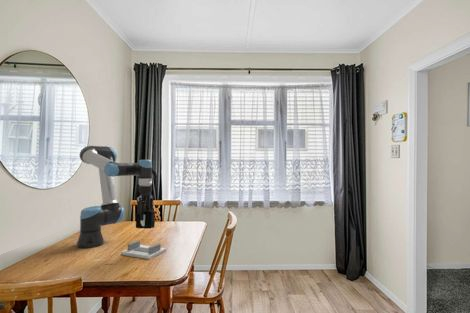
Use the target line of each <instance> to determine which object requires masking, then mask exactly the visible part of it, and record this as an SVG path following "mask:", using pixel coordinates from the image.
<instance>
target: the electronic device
mask: <svg viewBox="0 0 470 313" xmlns="http://www.w3.org/2000/svg"><path fill="white" fill-rule="evenodd" d="M135 215H136V216H135V228H136V229H149V230H150V229H154V228H155V226H156V224H155V222H156V221H155V220H156V211H155V210H153V211H146V209H145V211H144V215H145V226H142V225H141V220H140V215H139V214H137V211H136V212H135Z"/></svg>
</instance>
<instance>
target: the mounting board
mask: <svg viewBox="0 0 470 313" xmlns="http://www.w3.org/2000/svg"><path fill="white" fill-rule="evenodd" d="M165 252H167V247H166V248H164V247H161V243H156V244H153V245H151V246H150V245H145V244H141V240H136V241H132V242H129V243H128V244H127V249H125V250H122V251H121V252H120V255H123V256H128V257H134V258H141V259H147V260H151V259H154V258H155V257H157V256H160V255H161V254H163V253H165Z"/></svg>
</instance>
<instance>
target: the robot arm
mask: <svg viewBox="0 0 470 313" xmlns="http://www.w3.org/2000/svg"><path fill="white" fill-rule="evenodd" d="M79 158H80V160H81V162H82V163H85V164H86V165H92V166H94V167H95V168H97V169H98V175H99V181H100V182H99V183H100V191H101V198H102V199H101V200H102V203H101V204H100V205H95V206H89V207H85V208H83V209H82V210H81V211H80V215H79V220H80V222H79V223H80V224H79V226H80V227H79V228H80V230H79V235H78V238H77V239H78V240H77V242H76V247H77V248H80V249H88V248H89V249H90V248H95V247H99V246H102V245H103V244H104V243H105V241H104V237H103V234H102V227H104V226H108V225H114V224H118V223H121V222H122V220H123V219H124V216H125V208H124V207H123V206H122V205H121V204H120V202H119V201H118V200H117V193H116V187H115V179H114V178H115V177H126V176H129V177H130V176H138V185H139V186H138V192H139V196H138V197H136V198H135V199H136V206H137V207H136V210H137V211H136V212H137V214H139V215H140V220H141V225H142V226H145V215H144V211H145V210H146V211H154V198H155V195H153V194H151V193H152V191H153V187H152V184H153V162H152V160H151V159H140V160H138V163H137V162H128V163H127V162H116V161H117V158H118V156H117V152H116V150H115V148H113V147H111V146H107V145H105V146H100V145H88V146H84V147H83V148H82V149H81V150H80V151H79Z"/></svg>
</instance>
